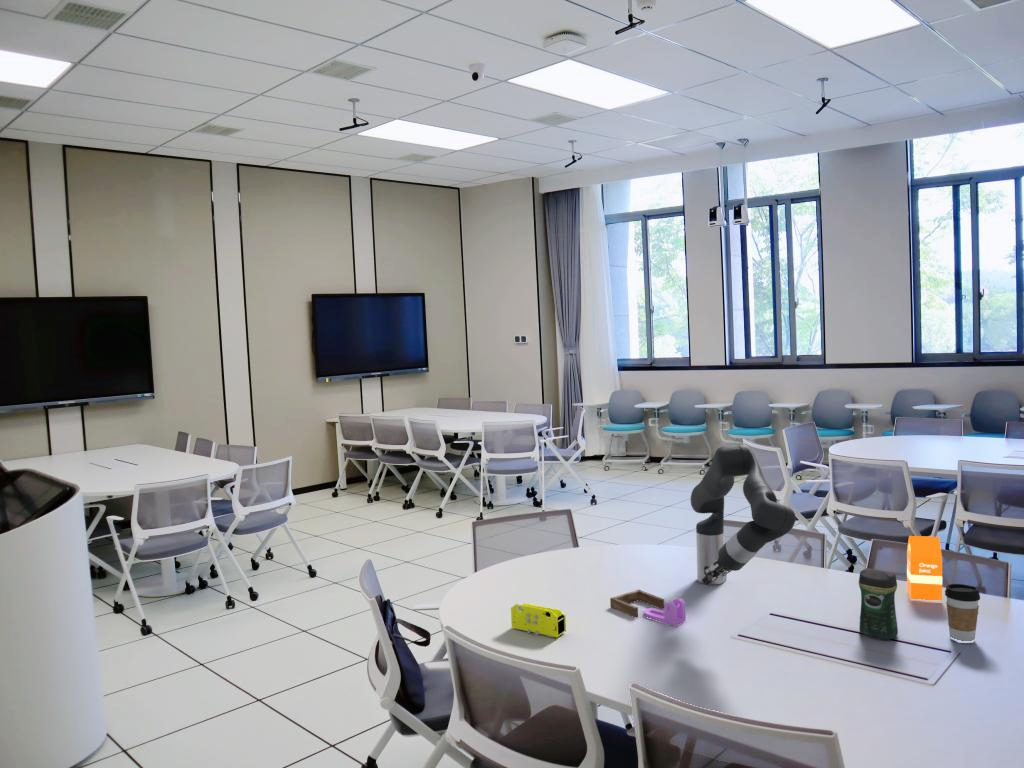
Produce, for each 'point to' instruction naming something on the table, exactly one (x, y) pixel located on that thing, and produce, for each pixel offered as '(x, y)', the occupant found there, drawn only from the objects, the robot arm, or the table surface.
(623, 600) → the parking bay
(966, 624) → the coffee cup
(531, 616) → the yellow toy chassis
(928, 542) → the orange juice
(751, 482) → the robot arm
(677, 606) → the bracket
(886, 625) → the coffee jar
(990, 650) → the table surface
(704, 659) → the table surface
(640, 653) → the table surface
